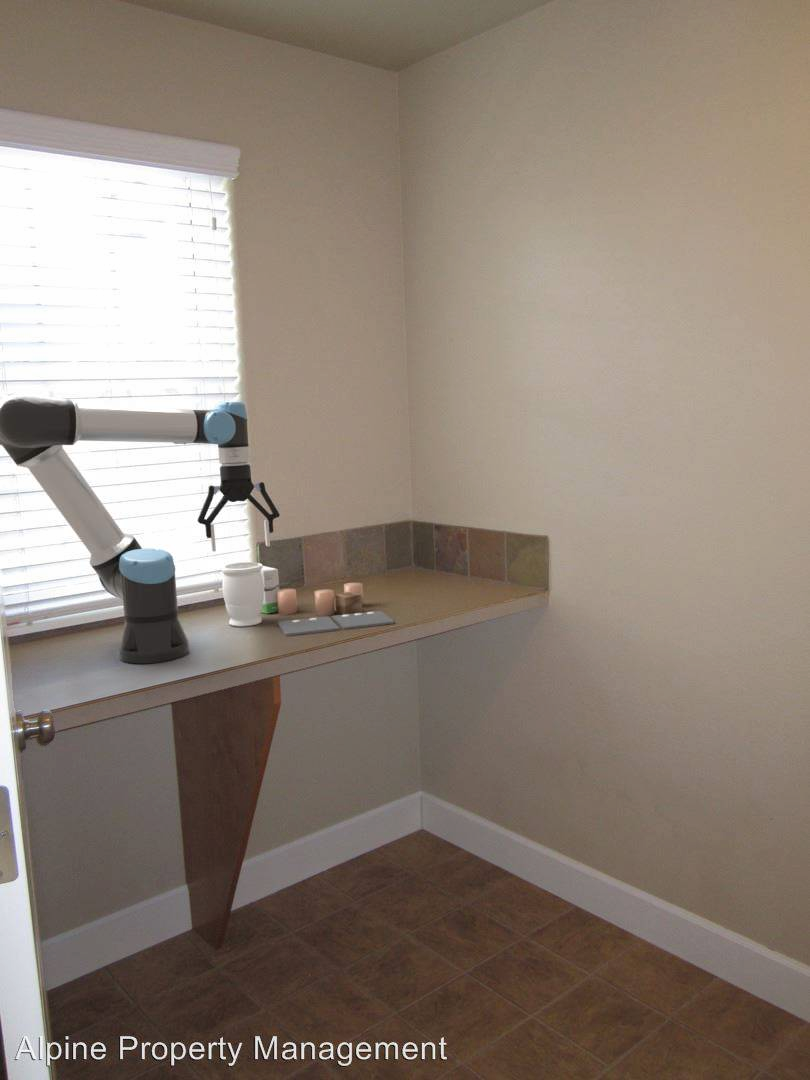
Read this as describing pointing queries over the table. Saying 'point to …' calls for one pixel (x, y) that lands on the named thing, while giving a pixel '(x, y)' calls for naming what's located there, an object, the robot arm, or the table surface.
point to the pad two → (307, 626)
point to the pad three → (362, 619)
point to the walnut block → (348, 603)
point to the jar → (243, 593)
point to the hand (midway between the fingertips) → (241, 548)
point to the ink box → (270, 589)
